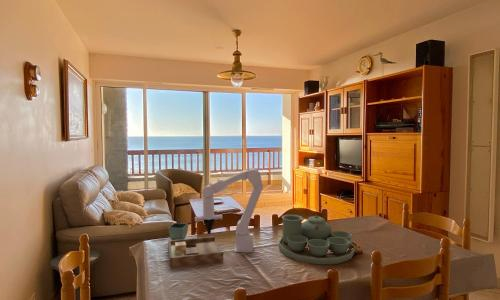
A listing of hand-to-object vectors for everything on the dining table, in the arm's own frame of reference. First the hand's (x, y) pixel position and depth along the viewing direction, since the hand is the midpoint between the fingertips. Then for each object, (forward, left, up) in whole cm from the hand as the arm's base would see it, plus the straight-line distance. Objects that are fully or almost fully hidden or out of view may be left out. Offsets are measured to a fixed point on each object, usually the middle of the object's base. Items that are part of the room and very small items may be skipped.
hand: (208, 233), depth 166 cm
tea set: (-58, -4, -9) cm, 59 cm away
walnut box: (+6, +8, -9) cm, 13 cm away
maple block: (+12, +11, -6) cm, 17 cm away
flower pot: (+20, -12, -9) cm, 25 cm away
